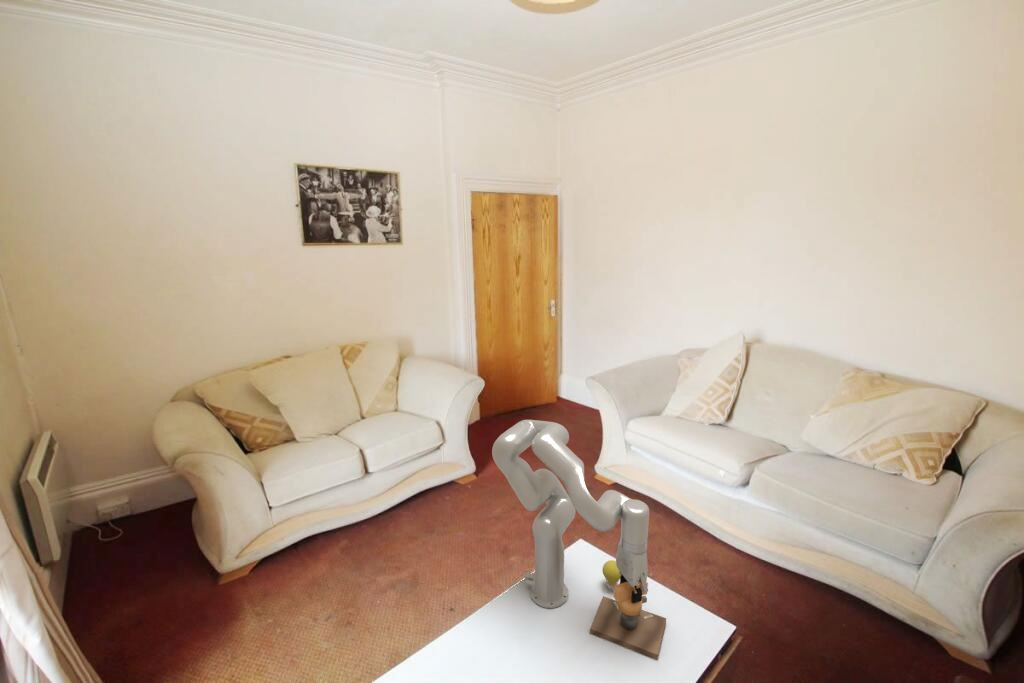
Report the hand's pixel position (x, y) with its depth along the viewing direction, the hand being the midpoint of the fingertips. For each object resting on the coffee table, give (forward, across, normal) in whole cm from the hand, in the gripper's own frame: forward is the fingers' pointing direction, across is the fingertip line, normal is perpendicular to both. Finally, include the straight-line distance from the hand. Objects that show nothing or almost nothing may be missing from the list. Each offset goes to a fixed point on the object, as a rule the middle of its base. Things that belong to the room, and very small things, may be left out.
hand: (630, 593), depth 141 cm
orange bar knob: (+5, 0, 0) cm, 5 cm away
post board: (+13, 0, 0) cm, 13 cm away
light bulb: (+13, -16, +4) cm, 21 cm away
